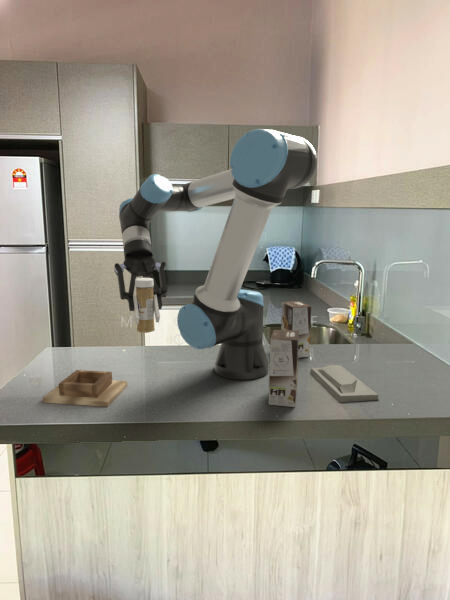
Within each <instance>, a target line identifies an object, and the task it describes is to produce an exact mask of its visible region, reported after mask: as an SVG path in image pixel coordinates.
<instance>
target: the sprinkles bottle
mask: <svg viewBox="0 0 450 600" xmlns="http://www.w3.org/2000/svg"><path fill="white" fill-rule="evenodd" d="M153 286H154V280H153V279H152V278H146V277H136V279H135V289H136V290H135V291H136V295H135V296H136V297H137V304H138V312H139V324H136V325H137V326H136V327H137V328H136V330H137V332H138V333H143V334H144V333H145V334H147V333H152V332H154V331H155V330H156V329H155V313H154V298H153V295H154V294H153Z"/></svg>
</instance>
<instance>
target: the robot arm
mask: <svg viewBox="0 0 450 600" xmlns="http://www.w3.org/2000/svg"><path fill="white" fill-rule="evenodd" d="M229 165H230V167H231V168H230V169H227V170H224V171H220V172H218V173H214V174H212V175H211V174H210V175H208V176H205V177H203V178H199V179H195V180H193V181H190V182H187V183H183V184H179V183H178V184H176V183H175V184H173V183H171V181H170V180H169V179H168V178H166V177H165V176H162V175H161V174H158V173H153V174H150V175H149V176H148V177H147V178H146V179H145V181H144V182H143V183H142V184H141V185H140V187H139V189H138V191H136V193H135V195H134V196H133V197H131V198H127V199H125V200H124V201H122V202H121V203H120V205H119V209H118V210H119V211H118V212H119V213H118V217H119V224H120V232H121V239H122V245H123V255H124V260H123V263H121V264H119V263H115V264H114V272H115V275H116V276H117V282H118V289H119V297H120V299H121V300H122V301H123V300H126V301H127V303H128V309H129V311H130V312H133V313H134V314H133V315H134V322H135V324H136V325H137V324H139V312H138V304H137V297H136V295H134V292H135V289H136V286H135V279H137V278H140V277H143V278H152V279H153V280H154V286H153V298H154V320H155V323H160V319H161V314H160V310H162V307H163V301H162V298H166V297H167V295H168V285H167V279H166V272H165V271H166V265H167V263H166V262H165V261H162V262H157V260H156V259H155V258H154V253H153V248H152V241H151V236H150V235H151V234H150V230H149V229H150V228H149V224H150V223H151V221H152V220H154V218H155V217H156V216H157V214H158V213H159V212H187V213H193V212H198V211H200V210H201V209H202V208H203V207H207V206H211V205H215V204H219V203H222V202H223V203H224V202H226V201H231V200H233V202H232V205H231V207H230V210H229V213H228V216H227V219H226V222H225V225H224V227H223V230H222V234H221V236H220V240H219V241H218V245H217V248H216V250H215V253H214V256H213V259H212V262H211V265H210V268H209V270H208V274H207V277H206V278H205V282H204V284H203V285H200V286H198V287H197V288H196V289H195V292H194V293H193V294H194V295H193V297H192V300H191V302H190V303H186V304H184V305H183V306H182V307H180V309H179V310H178V312H177V313H178V314H177V319H176V322H177V323H176V324H177V328H178V330H179V334H180V336H181V338H182V339H183V340H184V342H185V343H186V345H189V346H190V347H191V348H193V349H195V350H204V349H211V348H213V347H215V346H219V345H220V346H219V349H218V352H217V355H216V358H215V362H214V371H215V373H216V374H217V375H218V376H220V377H222V378H226V379H230V380H239V381H240V380H255V379H259V378H263V377H265V376H266V375H267V374H268V373H269V361H268V358H267V355H266V352H265V348H264V344H263V342H264V341H263V338H264V337H263V335H264V308H265V305H264V295H263V294H262V293H261V292H259V291H257V290H256V291H255V290H249V289H242V286H243V282H244V280H245V278H246V276H247V273H248V270H249V268H250V265H251V263H252V261H253V258H254V255H255V252H256V250H257V248H258V245H259V243H260V240H261V237H262V234H263V232H264V230H265V228H266V225H267V222H268V219H269V217H270V214H271V212H272V210H273V208H274V207H277V206H279V205H281V204H282V202H283V200H284V197H285V195H286V193H287V190H294V189H299V188H301V187H304V186H305V185H306V184H307V183H309V182H310V181H311V179H312V178H313V177H314V175H315V174H316V171H317V167H318V155H317V152H316V150H315V148H314V147H313V145H312V143H310V142H309V140H307V139H305V138H304V137H302V136H299V135H295V134H294V135H292V134H289V133H287V132H286V133H285V132H282V131H278V130H274V129H272V128H268V129H267V128H266V129H264V128H255V129H252V130H249V131H248V132H246V133H244V134H243V135H242V136H241V137H239V139H238V140H237V141H236V143H235V144H234V146H233V148H232V150H231V153H230V159H229ZM155 268H156V271H157V272H158V278H159V285H160V286H159V285H158V283H157V281H156V278H155V276H154V274H153V270H154V269H155ZM124 269H125V270H126V271H127V272H128V273H130V282H129V288H128V292H127V291H126V284H125V278H124V277H125V276H124V271H125V270H124ZM159 287H160V288H159Z"/></svg>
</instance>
